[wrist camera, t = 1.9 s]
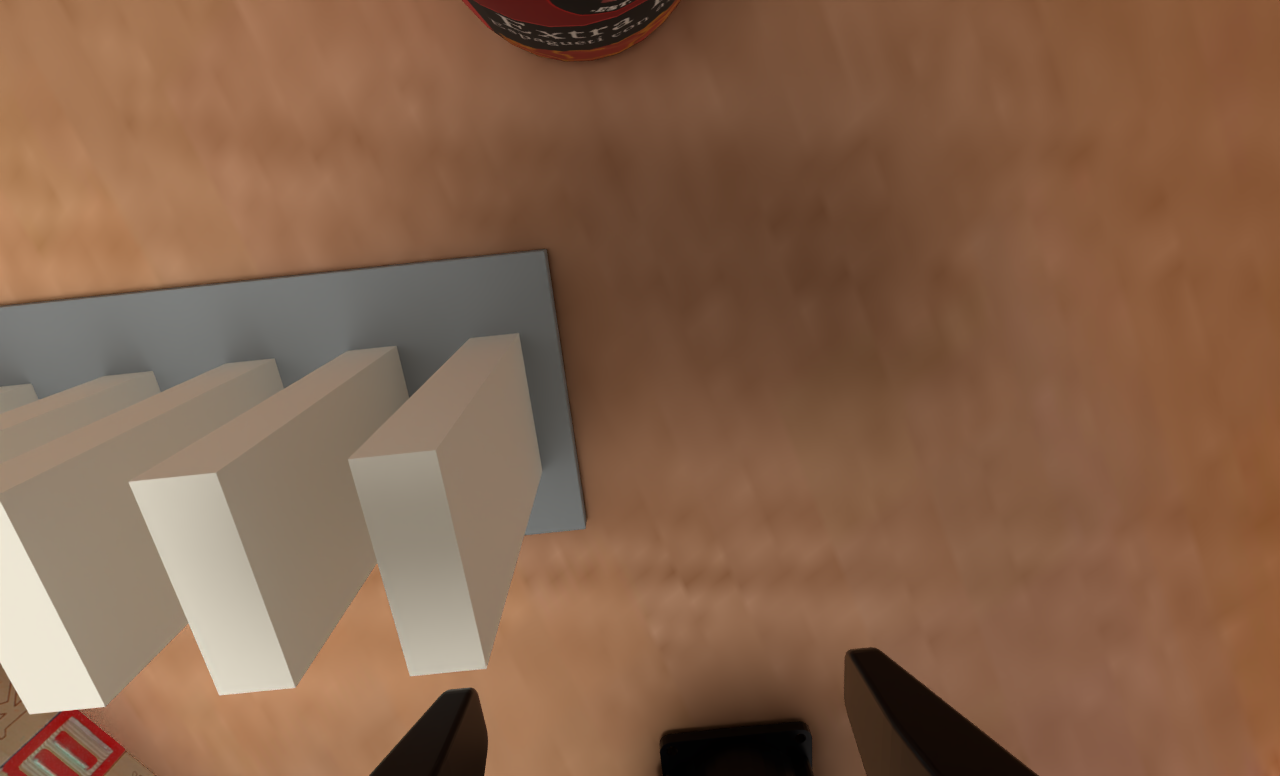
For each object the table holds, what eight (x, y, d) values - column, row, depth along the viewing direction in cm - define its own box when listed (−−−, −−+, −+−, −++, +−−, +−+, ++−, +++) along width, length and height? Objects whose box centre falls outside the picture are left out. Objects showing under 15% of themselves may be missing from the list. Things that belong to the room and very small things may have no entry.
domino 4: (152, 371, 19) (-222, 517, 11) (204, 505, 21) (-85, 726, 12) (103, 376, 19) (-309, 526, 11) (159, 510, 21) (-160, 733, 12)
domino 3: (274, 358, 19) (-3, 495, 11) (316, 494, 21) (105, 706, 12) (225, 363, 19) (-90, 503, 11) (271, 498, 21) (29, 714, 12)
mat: (546, 248, 19) (544, 250, 18) (586, 520, 22) (585, 528, 22) (-254, 332, 19) (-281, 336, 18) (-98, 589, 22) (-117, 600, 22)
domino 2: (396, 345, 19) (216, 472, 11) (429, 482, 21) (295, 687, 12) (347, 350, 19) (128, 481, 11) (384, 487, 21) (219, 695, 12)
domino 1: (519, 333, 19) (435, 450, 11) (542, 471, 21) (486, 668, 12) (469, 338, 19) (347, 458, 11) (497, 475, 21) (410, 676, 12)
